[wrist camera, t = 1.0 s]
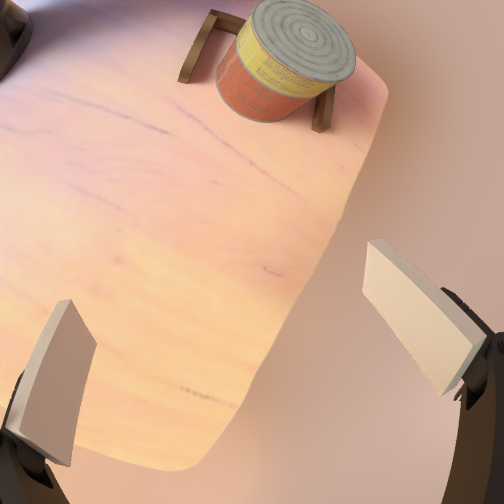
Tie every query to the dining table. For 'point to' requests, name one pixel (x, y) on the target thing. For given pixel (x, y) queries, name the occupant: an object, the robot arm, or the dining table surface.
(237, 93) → the canned food
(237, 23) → the walnut u-shaped frame
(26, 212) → the dining table surface
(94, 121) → the dining table surface
